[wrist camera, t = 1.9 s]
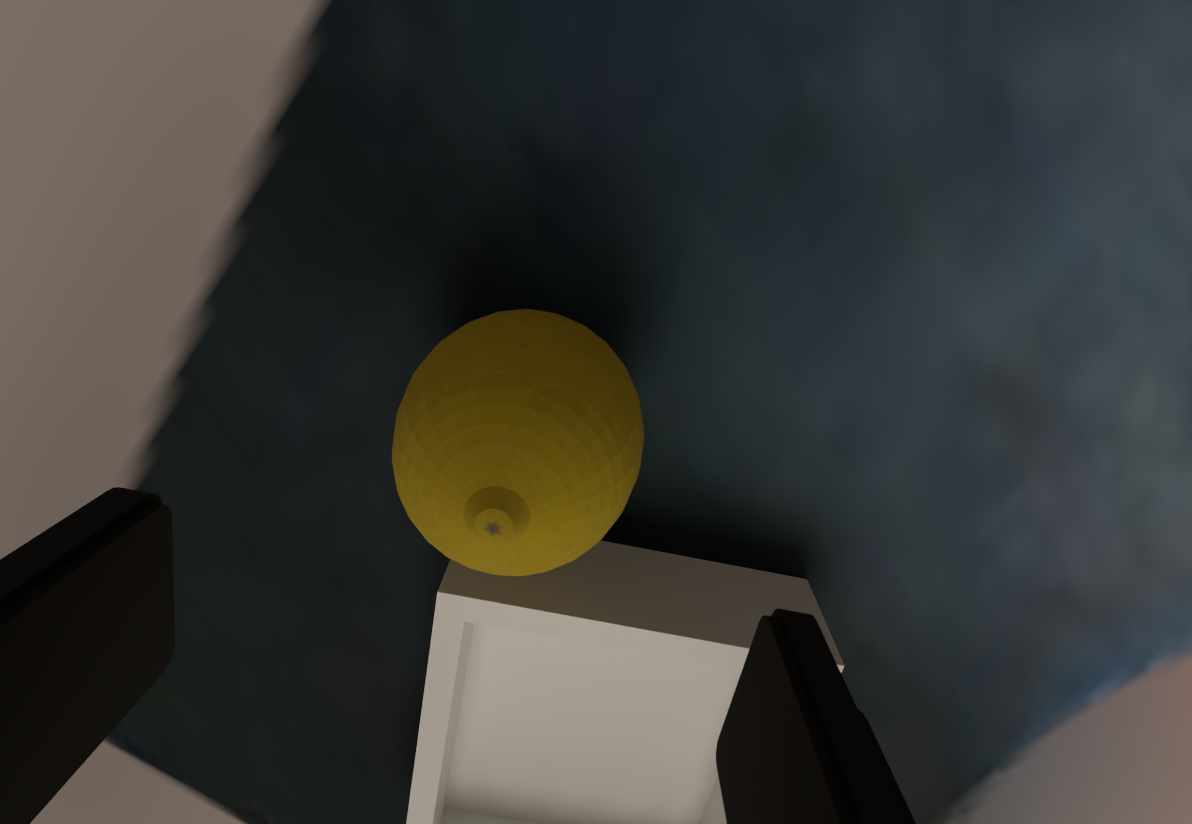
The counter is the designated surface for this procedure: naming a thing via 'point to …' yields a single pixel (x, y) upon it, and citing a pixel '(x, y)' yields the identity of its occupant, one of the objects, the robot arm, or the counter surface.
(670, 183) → the counter surface
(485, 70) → the counter surface
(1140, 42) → the counter surface
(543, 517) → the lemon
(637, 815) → the rack
